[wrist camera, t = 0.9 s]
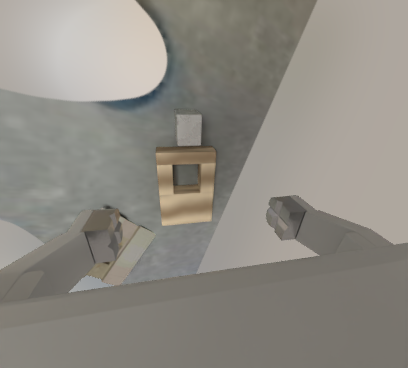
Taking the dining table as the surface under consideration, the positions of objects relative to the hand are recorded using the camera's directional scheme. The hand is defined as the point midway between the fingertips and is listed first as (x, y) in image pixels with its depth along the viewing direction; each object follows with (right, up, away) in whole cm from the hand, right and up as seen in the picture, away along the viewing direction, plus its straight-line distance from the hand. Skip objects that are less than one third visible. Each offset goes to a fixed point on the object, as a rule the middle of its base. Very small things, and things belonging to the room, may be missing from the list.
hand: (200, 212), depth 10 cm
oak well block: (-4, +2, +33) cm, 34 cm away
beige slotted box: (-22, -12, +37) cm, 45 cm away
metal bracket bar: (-4, +14, +27) cm, 31 cm away
